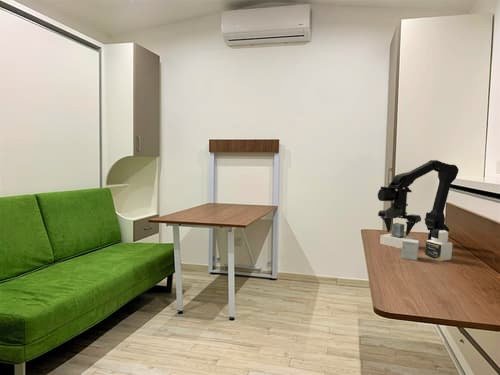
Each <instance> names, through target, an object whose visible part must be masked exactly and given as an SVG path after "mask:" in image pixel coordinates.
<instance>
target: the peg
mask: <svg viewBox="0 0 500 375" xmlns="http://www.w3.org/2000/svg"><path fill="white" fill-rule="evenodd" d="M390 234H391V237H396V238H404V235H405V224H403V223H398V222H395V223H391V232H390Z"/></svg>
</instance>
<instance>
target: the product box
mask: <svg viewBox="0 0 500 375" xmlns="http://www.w3.org/2000/svg"><path fill="white" fill-rule="evenodd" d="M419 245H420V240H418V239H414V240H413V239H405V238H404V239H403V242H402V249H401V254H400V255H401V256H400V258H401V259H405V260H406V259H407V260H413V261H418V256H419V255H418V254H419Z"/></svg>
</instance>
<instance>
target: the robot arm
mask: <svg viewBox="0 0 500 375" xmlns="http://www.w3.org/2000/svg"><path fill="white" fill-rule="evenodd" d="M432 171H434V172H436V173H437V178H438V181H439V183H438V185H437V190H436V194H435V197H434V202H433V206H432V209H431V211H430V212H428V211H427V212H426V214H425V218H424V224H425V226H426V230H427V231H429V232H428V236H427V240H432V239H431V235H432V230H434V229H441V230H446V231H447V232H448V233H449V232H450V228H449V227H448V226H447V225H446V217H445V212H444V211H445V208H446V204H447V200H448V196H449V192H450V188H451V185H452V183H453V182H454V181H455V180H456V178H457V177H458V174H459V167H458V166H457V165H456V164H450V163H445V162H443V161H440V160H438V159H435V160H429V161H426V163H423V164H422V165H419V166H418V167H416V168H414V169H412V170H411V171H407V172H403V173H399V174H396V175H394V176H393V179H392V180H391V182H390V183H389V184H388V186H380V189H379V190H378V192H377V199H378V201H380V202H392V203H391V206H390V207H388V208H387V209H384V210H379V211H378V213H377V216H378V217H380V219H381V220H382V221H384V224H385V228H386V230H387V233H391V229H392V219H397V218H399V219H405V220H406V221H405V223H406V228H405V236H409V235H410V232H411V231H412V230H413V227H415V225H416V224H418V223H419V222H421V221H422V216H421V215H419V214H414V213H413V214H412V213H411V214H408V212H407V207H408V206H409V205H408V204H409V203H407V200H408V193H413V190H411V189H410V188H409V187H410V186H411V185H412V184H414V182H415V181H416V180H418V179H419V178H421V177H423V176H426V175H427V174H429V173H431V172H432Z"/></svg>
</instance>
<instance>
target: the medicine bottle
mask: <svg viewBox="0 0 500 375" xmlns="http://www.w3.org/2000/svg"><path fill="white" fill-rule="evenodd" d="M431 239H432V240H428V239H427V240H425V250H424V257H425V258H429V259H432V260H434V261H438V262H442V261H450V260H452V255H453V254H452V253H453V252H452V251H453V243H452V242H450V241H449V232H447V231H446V230H441V229H434V230H432V235H431Z"/></svg>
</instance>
